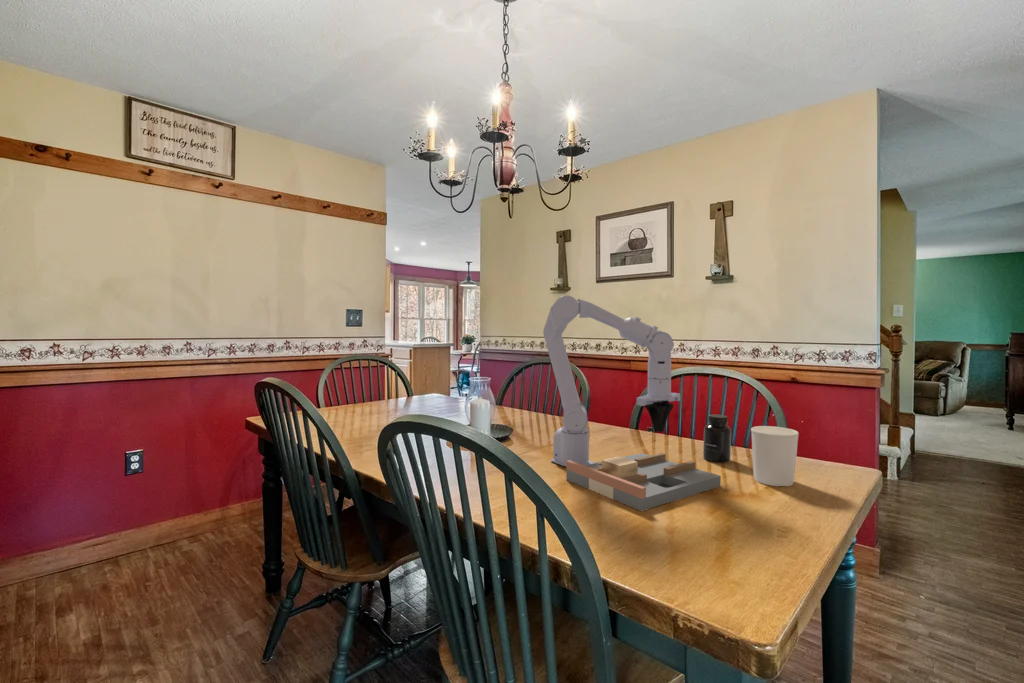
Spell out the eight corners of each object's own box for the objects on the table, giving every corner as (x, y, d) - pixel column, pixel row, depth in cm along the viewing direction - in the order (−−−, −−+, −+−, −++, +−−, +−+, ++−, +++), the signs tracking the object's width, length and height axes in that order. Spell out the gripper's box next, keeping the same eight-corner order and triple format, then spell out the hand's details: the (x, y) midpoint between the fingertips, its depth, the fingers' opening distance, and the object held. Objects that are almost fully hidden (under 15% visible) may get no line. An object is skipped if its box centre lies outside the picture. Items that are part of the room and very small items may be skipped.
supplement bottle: (704, 462, 129) (705, 417, 128) (702, 455, 135) (702, 412, 135) (732, 464, 127) (733, 418, 126) (728, 457, 133) (729, 414, 133)
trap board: (566, 479, 114) (566, 460, 114) (641, 462, 129) (641, 445, 128) (641, 511, 95) (641, 488, 95) (720, 486, 109) (720, 466, 109)
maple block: (601, 477, 108) (601, 459, 108) (619, 473, 111) (619, 456, 111) (619, 484, 103) (619, 465, 103) (637, 479, 106) (637, 461, 106)
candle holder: (806, 488, 108) (808, 435, 108) (762, 487, 108) (763, 435, 108) (783, 474, 118) (784, 425, 118) (742, 474, 118) (743, 425, 118)
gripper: (652, 381, 116) (652, 437, 116) (690, 377, 124) (690, 430, 124) (630, 378, 122) (629, 432, 122) (668, 375, 130) (667, 425, 130)
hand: (658, 431), depth 124 cm, fingers closed
